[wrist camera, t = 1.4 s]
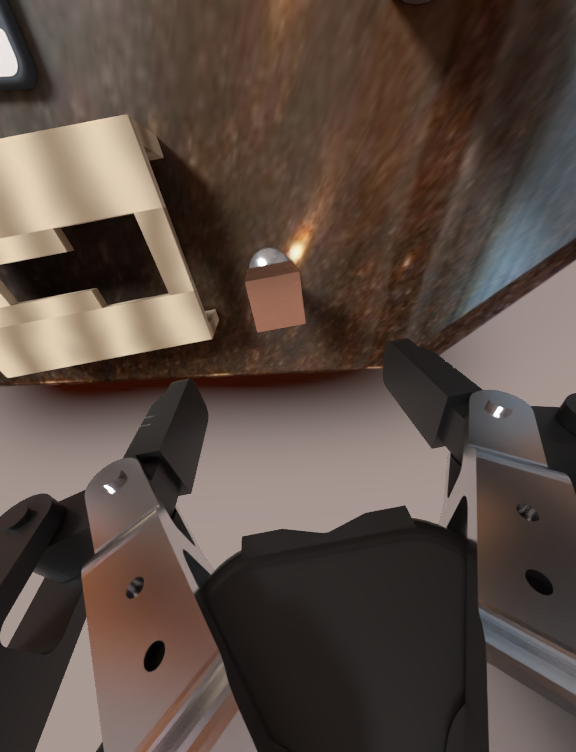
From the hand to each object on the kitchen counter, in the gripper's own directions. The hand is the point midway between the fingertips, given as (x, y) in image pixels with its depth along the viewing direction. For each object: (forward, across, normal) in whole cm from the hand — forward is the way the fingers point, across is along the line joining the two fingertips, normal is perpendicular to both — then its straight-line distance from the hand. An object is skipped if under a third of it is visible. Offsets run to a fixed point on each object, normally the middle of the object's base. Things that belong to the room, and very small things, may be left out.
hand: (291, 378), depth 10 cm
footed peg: (+24, 0, 0) cm, 24 cm away
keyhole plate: (+24, +20, -4) cm, 31 cm away
